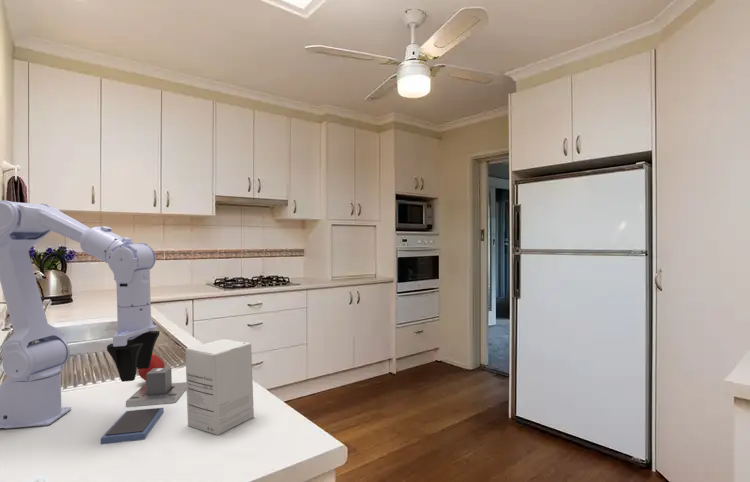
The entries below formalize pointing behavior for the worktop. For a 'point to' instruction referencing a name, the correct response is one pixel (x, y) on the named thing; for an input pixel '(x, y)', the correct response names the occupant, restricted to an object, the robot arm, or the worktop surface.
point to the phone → (132, 426)
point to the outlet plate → (156, 396)
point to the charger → (159, 381)
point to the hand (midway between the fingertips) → (136, 374)
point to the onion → (151, 366)
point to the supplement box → (219, 385)
